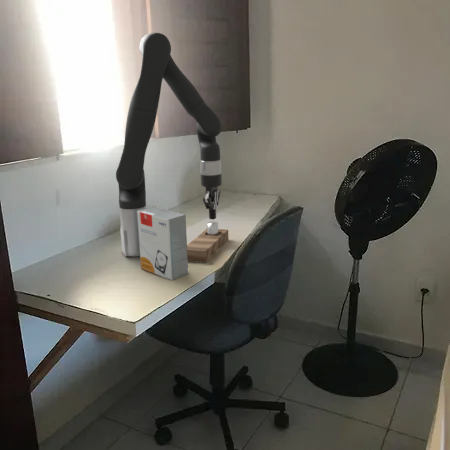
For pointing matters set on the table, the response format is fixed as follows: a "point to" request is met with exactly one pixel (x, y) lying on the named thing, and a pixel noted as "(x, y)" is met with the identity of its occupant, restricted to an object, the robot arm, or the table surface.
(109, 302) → the table surface
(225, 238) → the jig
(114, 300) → the table surface
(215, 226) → the brushed metal cylinder
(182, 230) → the hard drive box
